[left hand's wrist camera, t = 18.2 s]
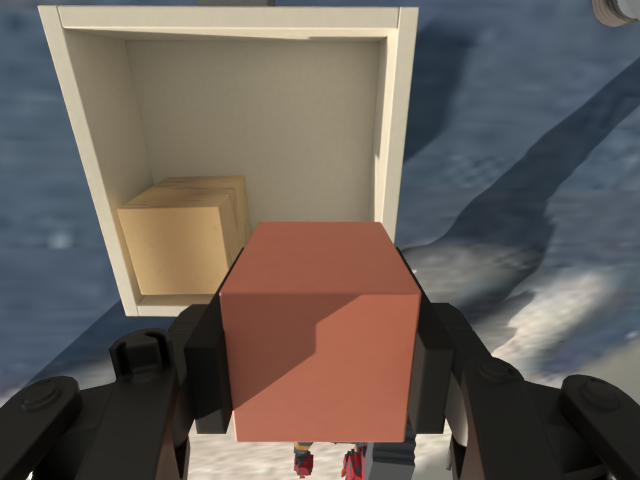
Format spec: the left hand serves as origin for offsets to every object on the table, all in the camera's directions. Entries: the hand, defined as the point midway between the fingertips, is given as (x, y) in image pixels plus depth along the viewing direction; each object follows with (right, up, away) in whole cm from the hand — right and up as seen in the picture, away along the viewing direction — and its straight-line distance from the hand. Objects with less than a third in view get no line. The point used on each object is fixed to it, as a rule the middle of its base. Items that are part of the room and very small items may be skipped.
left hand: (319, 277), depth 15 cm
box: (-4, +11, +6) cm, 13 cm away
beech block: (-7, +3, +8) cm, 12 cm away
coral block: (0, 0, 0) cm, 0 cm away
